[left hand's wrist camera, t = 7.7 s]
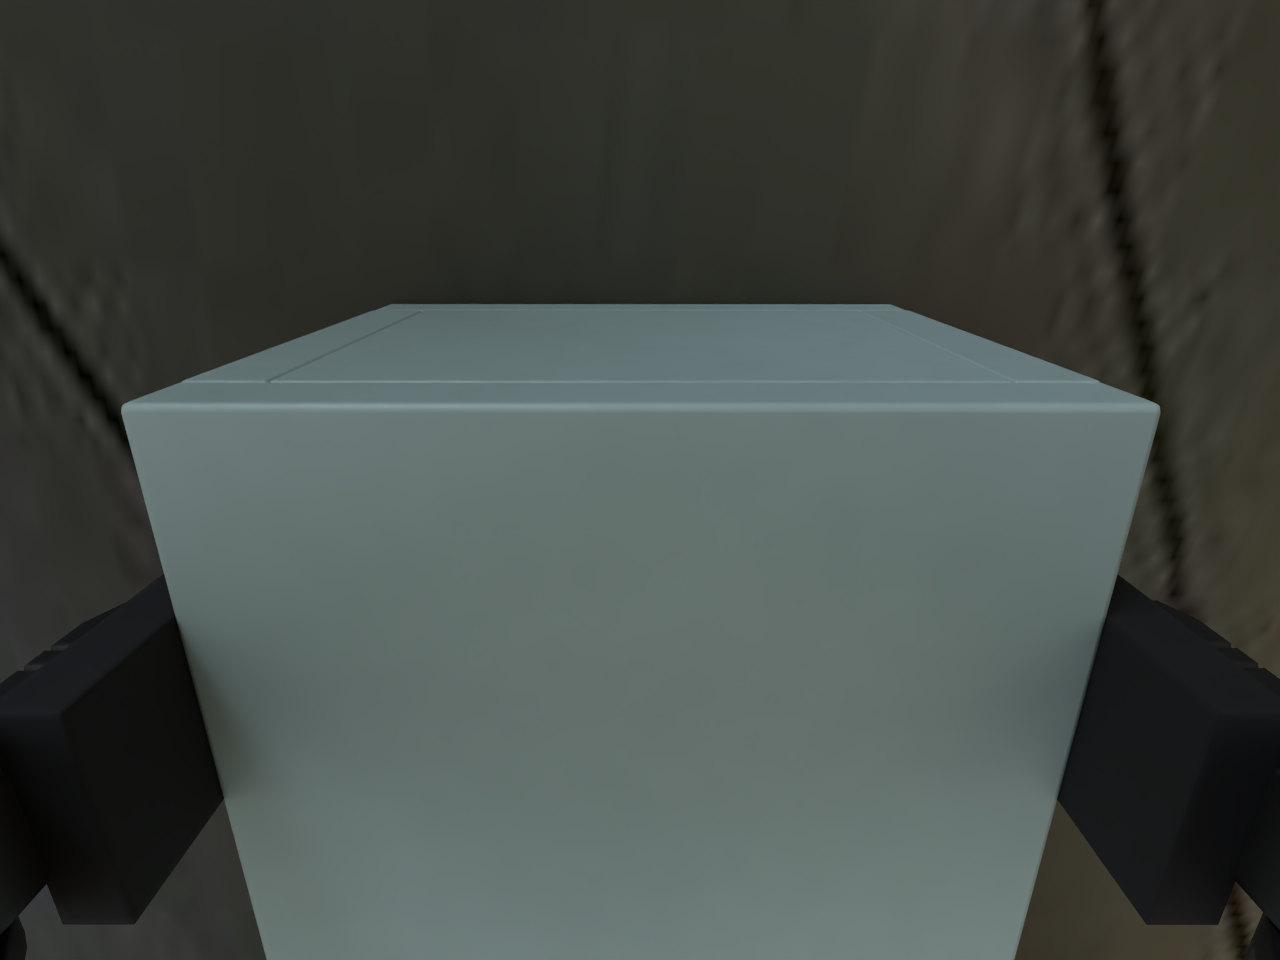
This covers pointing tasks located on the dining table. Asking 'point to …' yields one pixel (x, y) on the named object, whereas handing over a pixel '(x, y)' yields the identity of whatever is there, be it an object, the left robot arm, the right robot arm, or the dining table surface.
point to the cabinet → (640, 625)
